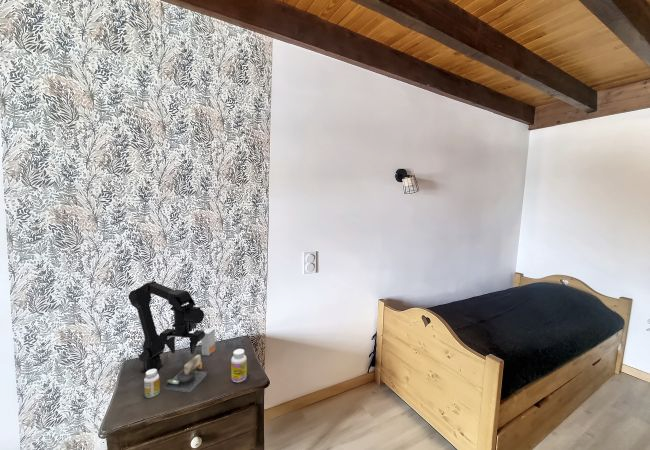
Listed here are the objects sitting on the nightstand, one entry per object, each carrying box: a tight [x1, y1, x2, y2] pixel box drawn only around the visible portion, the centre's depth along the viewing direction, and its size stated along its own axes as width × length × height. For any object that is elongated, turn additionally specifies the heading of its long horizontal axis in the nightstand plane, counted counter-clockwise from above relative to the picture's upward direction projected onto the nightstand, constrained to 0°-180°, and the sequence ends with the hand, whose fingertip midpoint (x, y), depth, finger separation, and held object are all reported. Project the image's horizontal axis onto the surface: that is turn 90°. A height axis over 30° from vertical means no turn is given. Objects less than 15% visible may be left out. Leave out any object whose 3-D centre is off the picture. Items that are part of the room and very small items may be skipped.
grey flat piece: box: [163, 360, 208, 393], centre depth 125 cm, size 12×17×4 cm
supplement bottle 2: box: [230, 348, 248, 384], centre depth 125 cm, size 7×7×13 cm
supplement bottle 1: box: [143, 369, 161, 399], centre depth 115 cm, size 5×5×10 cm
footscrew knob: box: [176, 354, 202, 384], centre depth 125 cm, size 12×7×6 cm, turn 168°
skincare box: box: [200, 327, 216, 356], centre depth 147 cm, size 6×4×12 cm
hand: (183, 353), depth 125 cm, fingers open, 9 cm apart
